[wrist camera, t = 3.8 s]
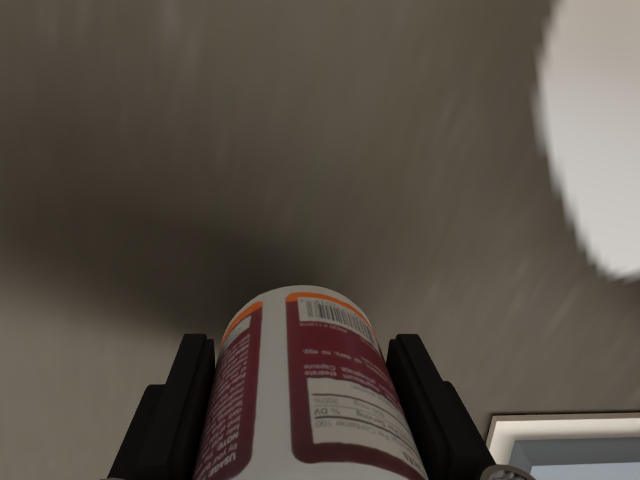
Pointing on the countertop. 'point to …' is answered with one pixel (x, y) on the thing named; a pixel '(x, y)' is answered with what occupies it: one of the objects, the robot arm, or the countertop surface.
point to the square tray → (568, 445)
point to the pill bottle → (304, 396)
